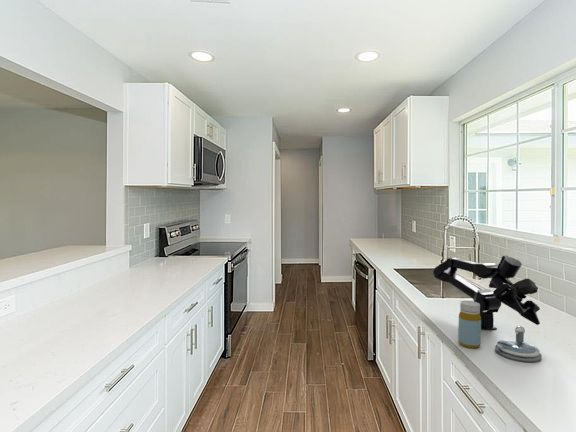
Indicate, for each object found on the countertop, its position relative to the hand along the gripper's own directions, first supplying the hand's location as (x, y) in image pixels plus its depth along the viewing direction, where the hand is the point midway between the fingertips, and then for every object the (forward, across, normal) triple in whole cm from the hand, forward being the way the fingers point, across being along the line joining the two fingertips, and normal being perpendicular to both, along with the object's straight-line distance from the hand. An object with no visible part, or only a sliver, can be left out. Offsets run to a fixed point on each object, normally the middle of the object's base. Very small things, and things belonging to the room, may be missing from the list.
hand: (530, 318), depth 121 cm
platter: (+6, 0, +10) cm, 11 cm away
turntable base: (+7, +1, +10) cm, 13 cm away
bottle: (0, -7, +21) cm, 22 cm away
